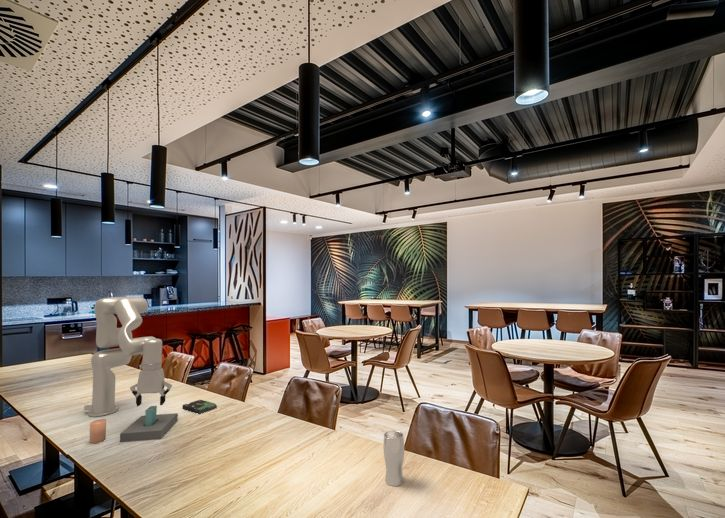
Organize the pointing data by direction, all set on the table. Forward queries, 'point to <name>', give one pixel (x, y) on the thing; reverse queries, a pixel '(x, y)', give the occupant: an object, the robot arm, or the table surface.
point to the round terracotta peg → (97, 431)
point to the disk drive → (199, 406)
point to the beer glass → (394, 457)
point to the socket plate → (149, 428)
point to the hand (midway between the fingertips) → (150, 404)
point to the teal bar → (150, 415)
